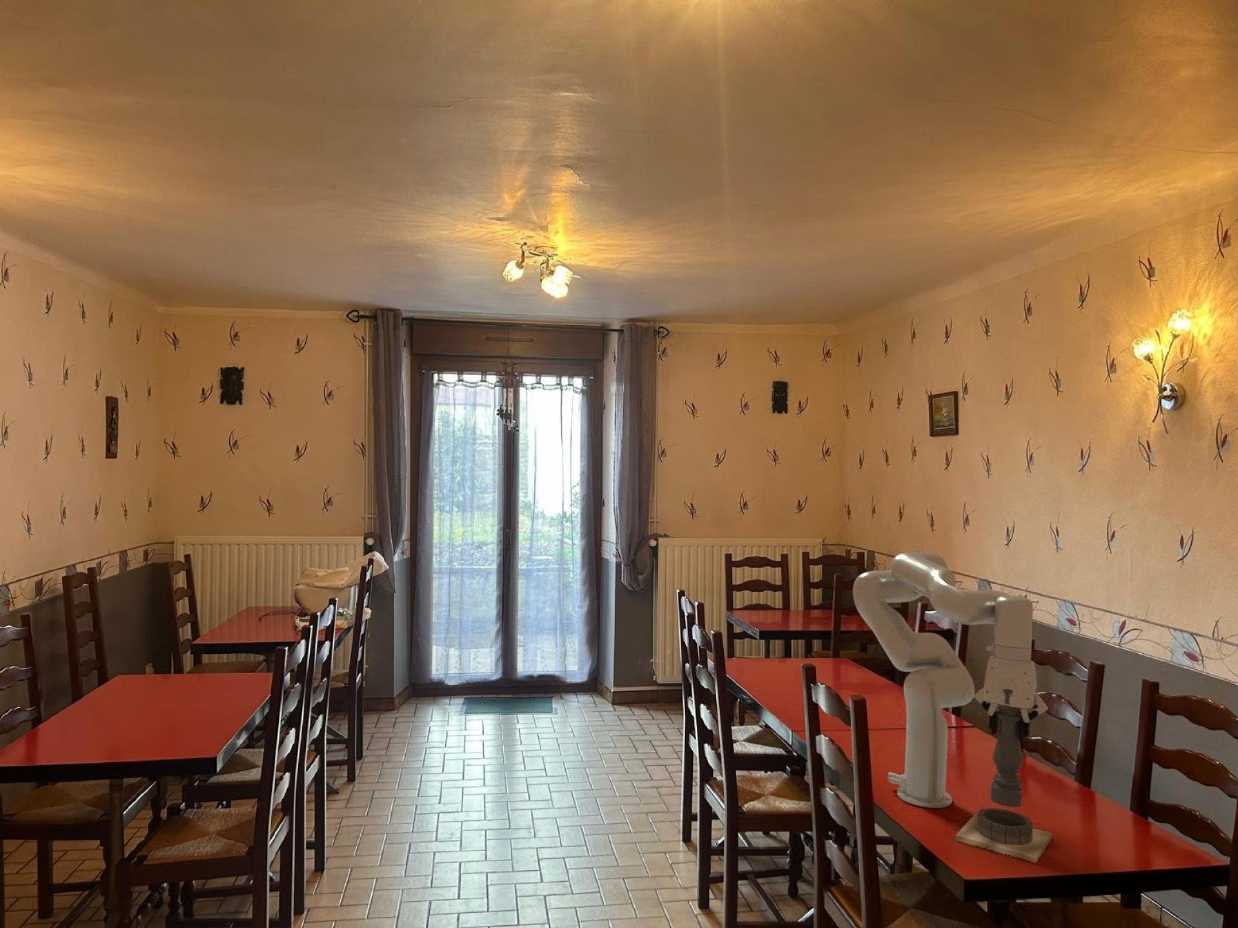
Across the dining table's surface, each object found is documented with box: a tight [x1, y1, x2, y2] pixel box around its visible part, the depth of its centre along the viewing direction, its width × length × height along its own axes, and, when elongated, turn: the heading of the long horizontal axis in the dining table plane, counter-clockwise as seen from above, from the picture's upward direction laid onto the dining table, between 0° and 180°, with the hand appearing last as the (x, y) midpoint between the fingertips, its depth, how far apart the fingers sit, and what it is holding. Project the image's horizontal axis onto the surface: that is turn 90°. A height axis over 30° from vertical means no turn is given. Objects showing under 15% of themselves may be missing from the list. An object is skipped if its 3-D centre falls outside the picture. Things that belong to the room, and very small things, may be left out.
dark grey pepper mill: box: [990, 689, 1024, 808], centre depth 189 cm, size 6×6×25 cm
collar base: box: [955, 807, 1053, 864], centre depth 189 cm, size 16×16×5 cm
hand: (1008, 735), depth 189 cm, fingers closed on dark grey pepper mill, 5 cm apart
